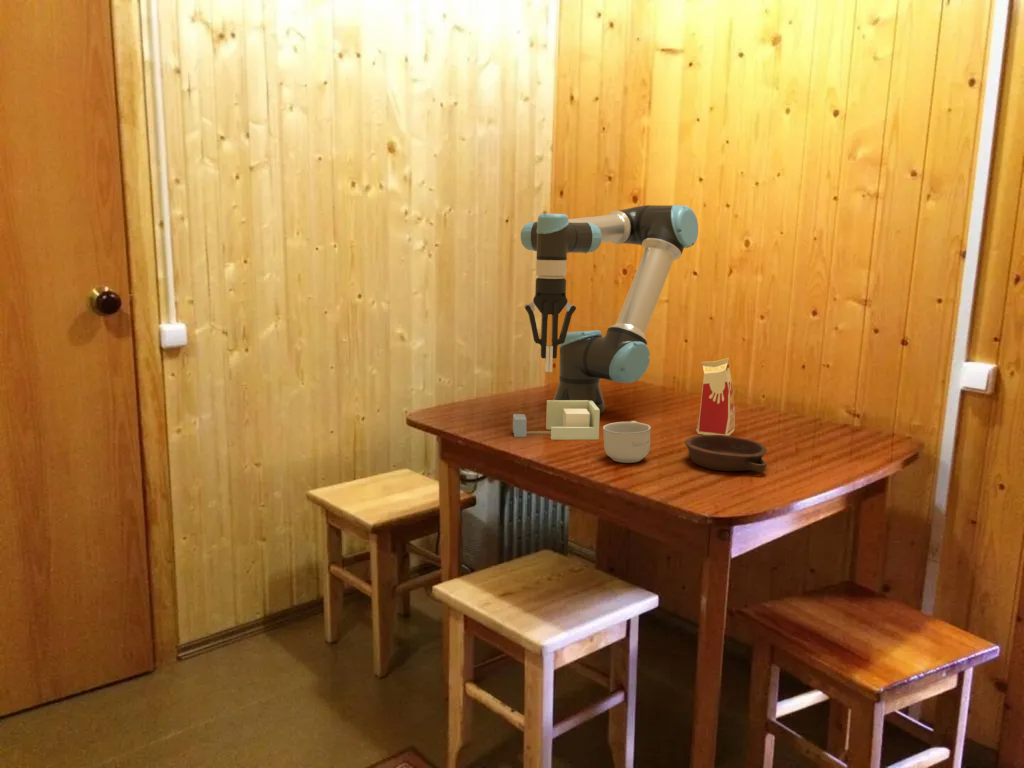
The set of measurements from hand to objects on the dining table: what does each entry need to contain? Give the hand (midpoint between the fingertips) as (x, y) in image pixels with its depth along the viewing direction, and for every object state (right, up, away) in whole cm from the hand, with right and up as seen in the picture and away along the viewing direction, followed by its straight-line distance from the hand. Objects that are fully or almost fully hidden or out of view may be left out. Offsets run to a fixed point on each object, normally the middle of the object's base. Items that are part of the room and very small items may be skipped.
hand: (548, 371), depth 204 cm
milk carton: (+44, -16, +8) cm, 48 cm away
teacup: (+18, -21, -17) cm, 32 cm away
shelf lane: (+6, -16, +4) cm, 18 cm away
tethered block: (+1, -16, +3) cm, 16 cm away
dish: (+39, -22, -20) cm, 49 cm away
